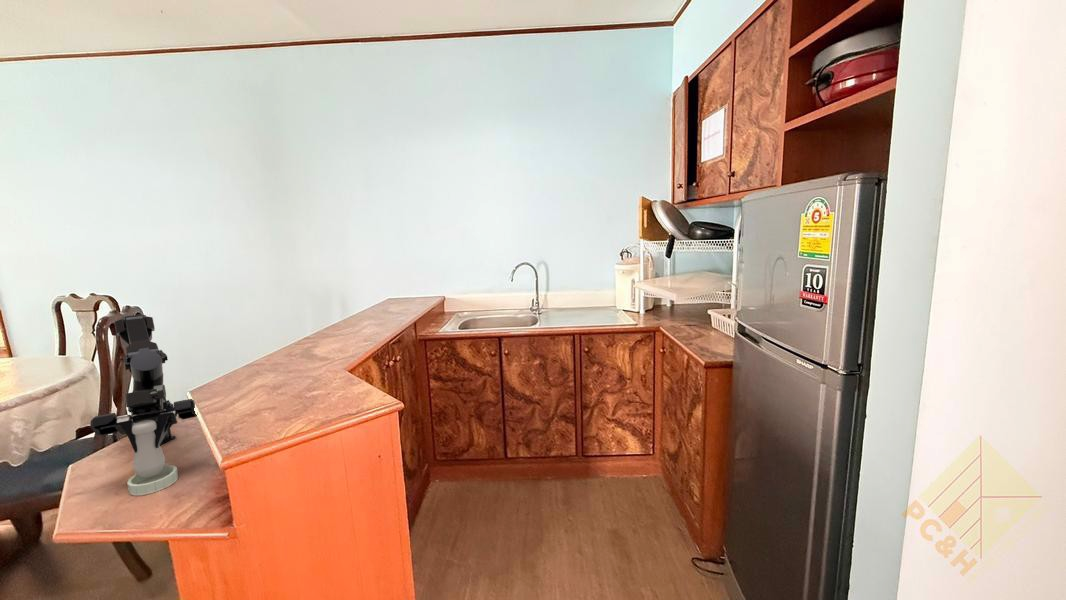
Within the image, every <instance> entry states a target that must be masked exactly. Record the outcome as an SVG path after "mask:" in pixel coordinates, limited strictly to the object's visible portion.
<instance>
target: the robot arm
mask: <svg viewBox="0 0 1066 600" xmlns="http://www.w3.org/2000/svg"><path fill="white" fill-rule="evenodd" d="M114 328H115V333H116V337H120V343H121V344H122V345H124V346H125V354H126V355H123V356H122V358H123V364H124V370H125V371H127V370H128V371H129V373H130V374H131V377H132V379H133V383H132V391H131V392H128V393H125V404H126V405H125V407H126V408H127V411H128V413H130V414H126V415H125V414H124V415H119V416H118V415H117V413H115V412H112V413H111V412H110V413H105V414H101V415H95V416H94V417H93V418H92V419H91V420H90V425H89V426H90V427H89V428H90V429H91V430H92V431H93V432H94V433H95V434H96V436H97V437H98V436H99V437H102V436H103V437H104V436H108V435H113V434H117V433H119V435H126V436H127V438H128V439H129V440H128V441H129V442H130V445H131V447H132V449H133V451H134V454H135V453H136V452H137V444H136V435H135V434H133V433H132V426H133V425H134V424H136V423H138V422H140V421H144V420H154V421H155V422H156V429H155V430H154V433H155V435H156V439H155V446H156V448H159V446H160V447H161V445H164V444H165V443H168V442H170V441H171V440H174V439H176V438H177V437H176V435H172V432H171V427H173V425H176V424H178V419H177V417H178V418H179V419H181V420H188V419H192V418H196V417H198V416H197V415H198V414H197V415H196V414H195V411H194V408H195V404H196V402H195V400H193V399H192V398H188V399H182V400H177V401H173V403H172V402H171V401H170V399H167V391H166V386H165V384H164V373H163V372H164V371H163V370H164V367H163V364H166V361H169V359H168V355H167V354H166V353H165V352H164V351H163V349H159V347H158V344H157V342H154V341H152V340H153V332H155V324H154V318H153V317H151V316H146V314H142V313H139V314H134V315H133V314H132V315H126V316H123V317H122V318H121V319H117V320H115V321H114Z"/></svg>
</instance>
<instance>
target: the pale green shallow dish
mask: <svg viewBox="0 0 1066 600" xmlns="http://www.w3.org/2000/svg"><path fill="white" fill-rule="evenodd" d="M178 476H179V474H178V468H177V466H176V465H173V464H172V465H171V464H166V465H165V464H164V467H163V470H162V471H161V472H159V473H158V474H156V475H153V476H149V477H139V475H138V474H137V473H135V475H133V476H132V477H130V478H129V479H128V480H127V483H126V484H127V489H128V492H129V495H131V496H138V497H140V496H145V495H151V494H154V493H156V492H157V493H158V492H159V491H160V492H161V491H162V490H165V489H166V488H168V487H170V486H172V485H174V484H175V483H176V482H177V481H178V480H179V479H178V478H179V477H178Z"/></svg>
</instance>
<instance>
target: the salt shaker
mask: <svg viewBox="0 0 1066 600" xmlns="http://www.w3.org/2000/svg"><path fill="white" fill-rule="evenodd" d="M155 429H156V422H155V421H154V420H144V421H140V422H138V423H136V424H134V425H133V426H132V433H133V434H135V435H136V444H137V452H136V453H135V452H134V455H133V467H132V469H133V472H135V474H138V475H139V477H149V476H153V475H156V474H158V473H159V472H161V471H162V470H163V467H164V465H165V463H166V457H165V454H164V452H163V450H162V448H161V445H160V446H159V448H156V446H155V439H156V435H155V433H154V430H155Z"/></svg>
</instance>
